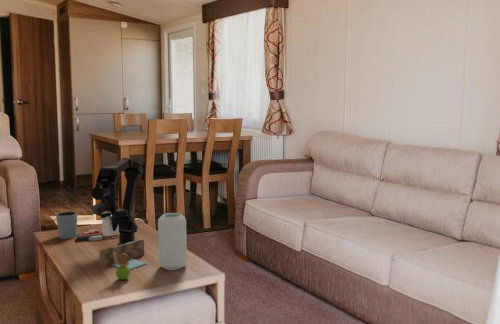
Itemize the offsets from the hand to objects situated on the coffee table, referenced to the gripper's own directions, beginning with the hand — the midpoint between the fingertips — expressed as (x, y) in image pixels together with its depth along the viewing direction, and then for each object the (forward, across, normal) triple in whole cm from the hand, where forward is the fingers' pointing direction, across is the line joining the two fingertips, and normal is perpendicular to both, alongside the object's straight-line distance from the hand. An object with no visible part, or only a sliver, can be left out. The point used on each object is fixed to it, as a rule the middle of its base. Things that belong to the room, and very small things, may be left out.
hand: (110, 229), depth 225 cm
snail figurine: (+12, +29, -16) cm, 35 cm away
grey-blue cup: (+12, -41, +3) cm, 43 cm away
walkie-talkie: (+12, -27, +11) cm, 32 cm away
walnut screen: (+11, +11, -2) cm, 16 cm away
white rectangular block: (+2, 0, 0) cm, 2 cm away
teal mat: (+11, +18, -4) cm, 22 cm away
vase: (+12, +34, +6) cm, 36 cm away
